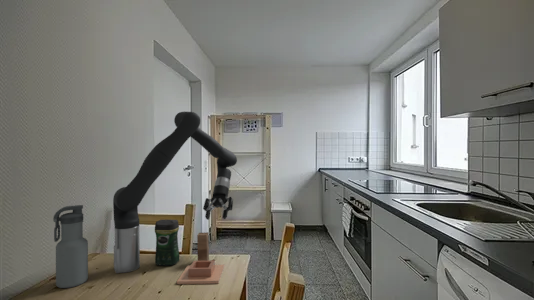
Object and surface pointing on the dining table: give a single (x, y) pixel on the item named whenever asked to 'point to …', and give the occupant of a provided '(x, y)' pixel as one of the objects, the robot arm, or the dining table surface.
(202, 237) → the walnut post
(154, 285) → the dining table surface
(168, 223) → the coffee jar
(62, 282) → the water bottle
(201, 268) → the terracotta holder
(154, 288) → the dining table surface
